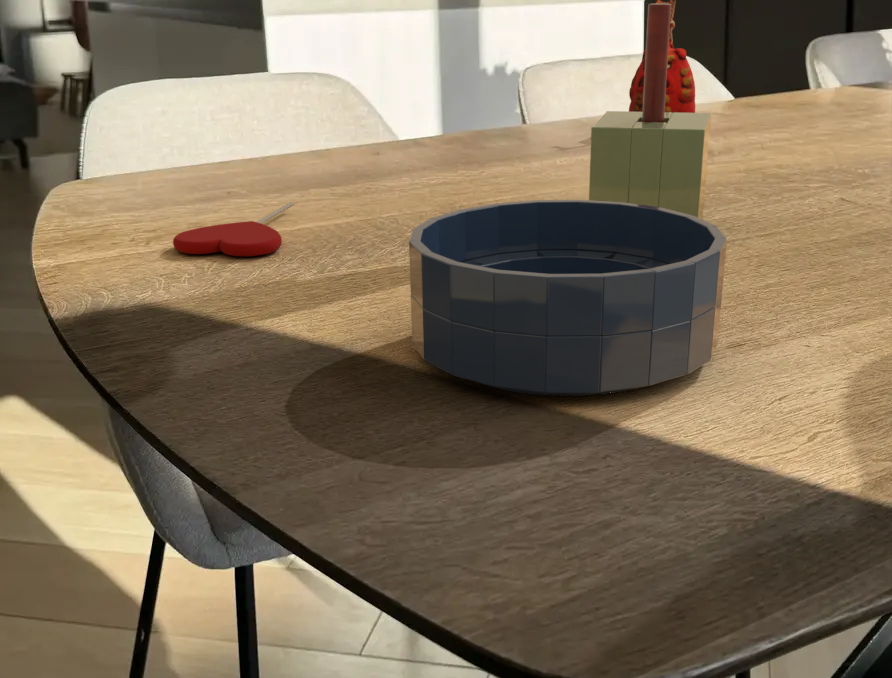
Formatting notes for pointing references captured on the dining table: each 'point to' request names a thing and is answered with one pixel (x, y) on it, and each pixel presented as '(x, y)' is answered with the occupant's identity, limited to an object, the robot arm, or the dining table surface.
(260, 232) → the lollipop
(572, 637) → the dining table surface
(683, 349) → the bowl
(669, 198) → the block
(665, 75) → the stirring stick
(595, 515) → the dining table surface
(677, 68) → the red clay folk toy
